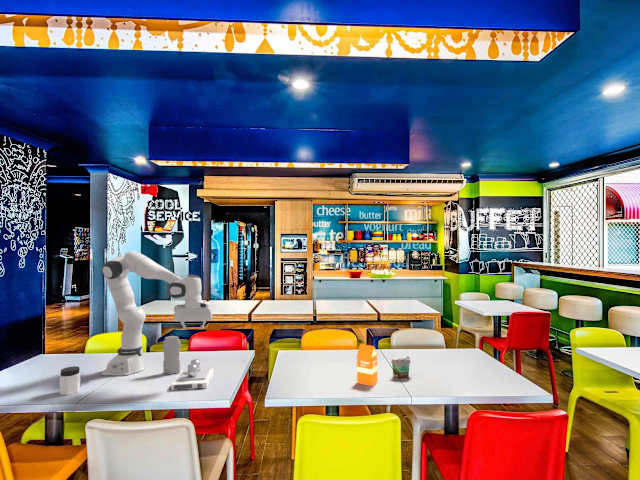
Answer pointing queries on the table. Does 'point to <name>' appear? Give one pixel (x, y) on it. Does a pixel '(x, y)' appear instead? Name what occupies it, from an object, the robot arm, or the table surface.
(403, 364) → the food container
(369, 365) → the orange juice
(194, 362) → the cylinder
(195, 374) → the cylinder
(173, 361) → the tall pale column
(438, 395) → the table surface
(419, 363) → the table surface
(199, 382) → the white rimmed tray
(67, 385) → the jar
